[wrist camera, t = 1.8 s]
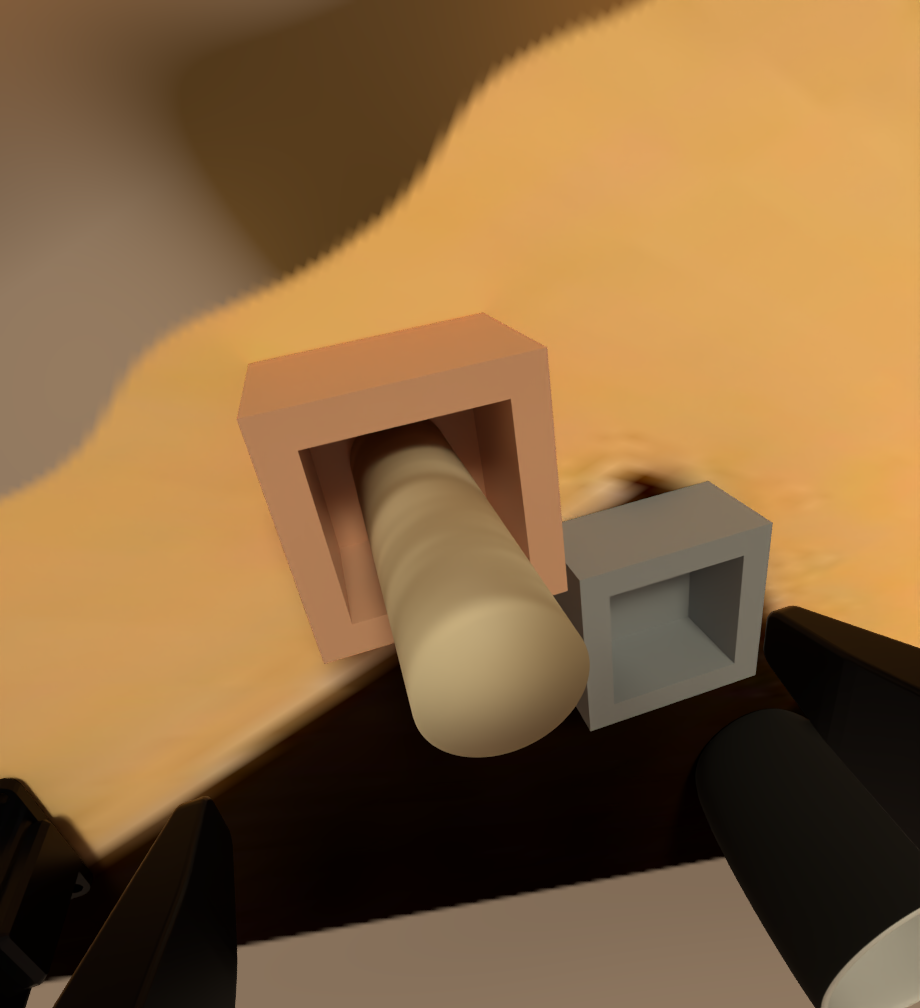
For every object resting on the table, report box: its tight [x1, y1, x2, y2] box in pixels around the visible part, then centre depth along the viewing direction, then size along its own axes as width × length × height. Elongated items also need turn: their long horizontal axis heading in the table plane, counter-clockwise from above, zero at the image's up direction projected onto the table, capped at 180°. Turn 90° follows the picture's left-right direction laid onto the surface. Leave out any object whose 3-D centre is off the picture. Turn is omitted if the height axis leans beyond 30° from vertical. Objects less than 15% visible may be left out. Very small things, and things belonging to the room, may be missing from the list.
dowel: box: [350, 419, 590, 757], centre depth 14 cm, size 3×3×10 cm
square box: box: [237, 313, 568, 664], centre depth 17 cm, size 7×7×5 cm
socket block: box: [553, 481, 773, 731], centre depth 23 cm, size 7×7×4 cm
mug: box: [695, 709, 920, 1008], centre depth 27 cm, size 12×9×10 cm
